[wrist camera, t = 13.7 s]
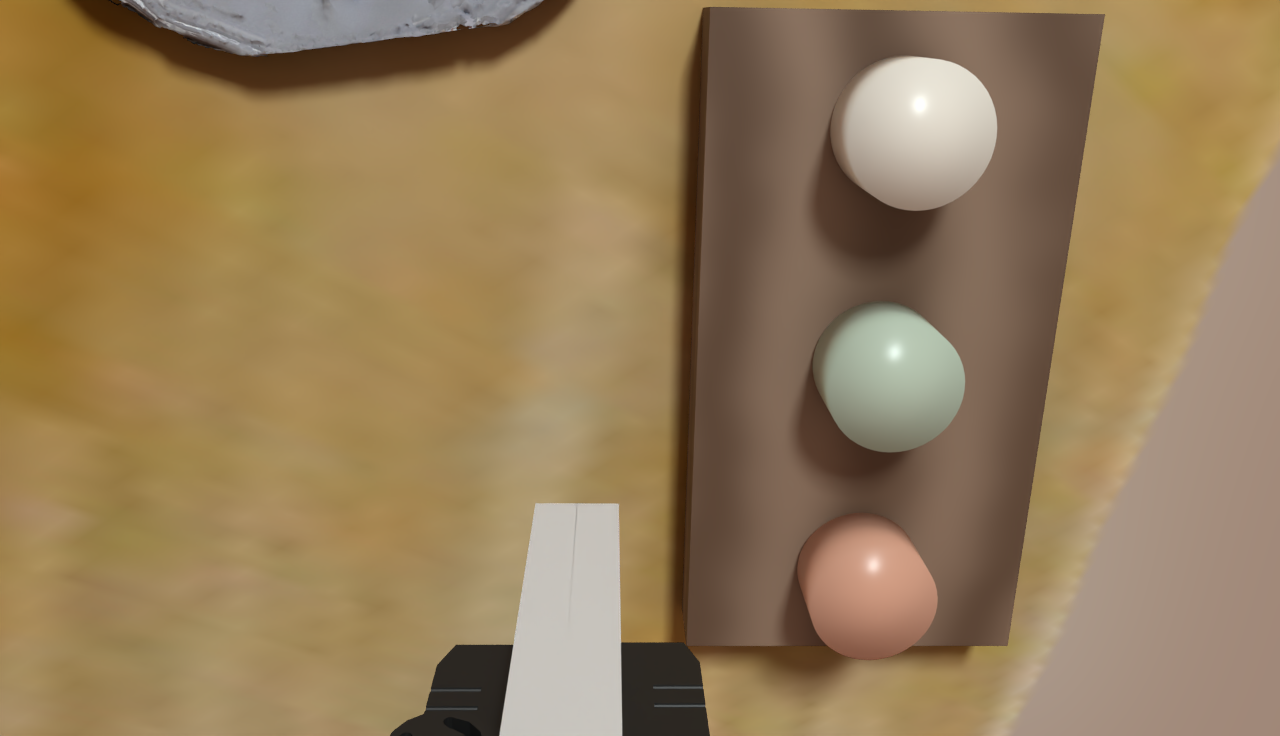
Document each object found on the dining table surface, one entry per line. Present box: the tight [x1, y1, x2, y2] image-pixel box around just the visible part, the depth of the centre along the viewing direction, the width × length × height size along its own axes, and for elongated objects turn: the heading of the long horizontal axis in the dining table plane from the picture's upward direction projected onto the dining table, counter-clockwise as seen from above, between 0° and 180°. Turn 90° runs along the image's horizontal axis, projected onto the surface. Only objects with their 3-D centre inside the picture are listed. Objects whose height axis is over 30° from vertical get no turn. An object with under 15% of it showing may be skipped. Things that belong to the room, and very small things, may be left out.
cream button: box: [830, 56, 997, 211], centre depth 36 cm, size 5×5×3 cm
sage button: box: [813, 301, 965, 452], centre depth 39 cm, size 5×5×3 cm
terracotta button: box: [797, 513, 938, 660], centre depth 42 cm, size 5×5×3 cm
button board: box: [682, 7, 1105, 646], centre depth 42 cm, size 14×26×3 cm, turn 179°
